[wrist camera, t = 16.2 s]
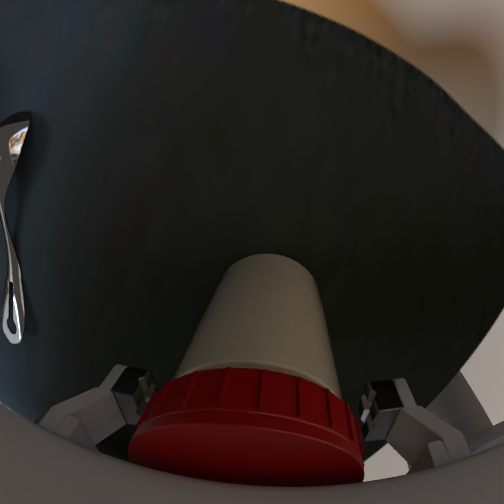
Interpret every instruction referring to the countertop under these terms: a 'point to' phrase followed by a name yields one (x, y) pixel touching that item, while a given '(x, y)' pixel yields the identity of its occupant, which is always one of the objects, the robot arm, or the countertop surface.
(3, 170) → the metal scoop
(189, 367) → the jam jar
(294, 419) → the jam lid
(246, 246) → the countertop surface
